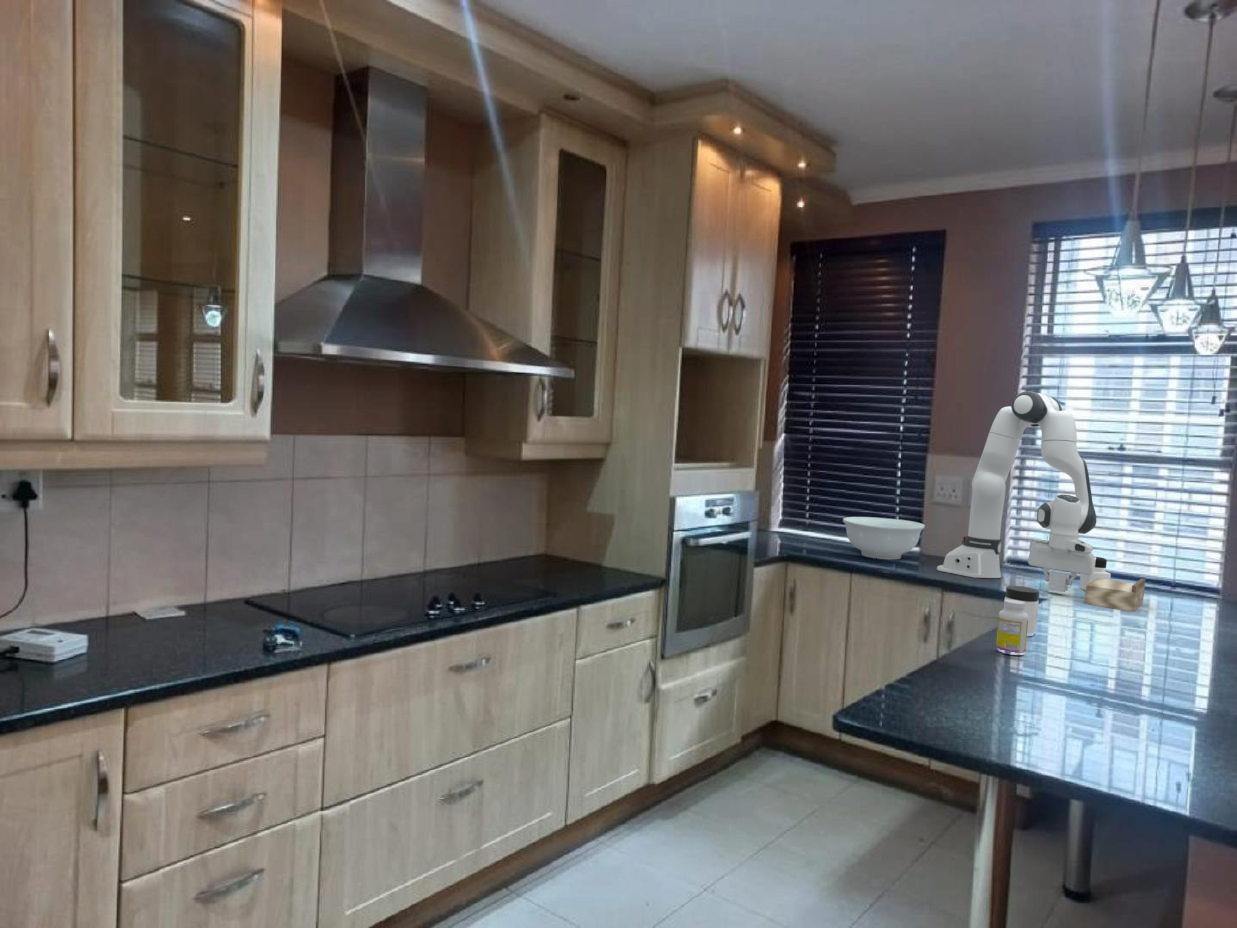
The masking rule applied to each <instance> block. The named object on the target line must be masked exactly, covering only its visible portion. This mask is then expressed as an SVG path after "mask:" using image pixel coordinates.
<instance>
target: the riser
mask: <svg viewBox="0 0 1237 928" xmlns="http://www.w3.org/2000/svg"><path fill="white" fill-rule="evenodd" d="M1145 586H1146V578H1140V579H1139V580H1137V582H1135V583H1132V582H1126V581H1119V580H1113V579H1110V580H1108V579H1101V578H1096V579H1095V580H1093V581H1092V582H1090V583H1089V584H1087V585H1086V591H1085V590H1084V592H1085V593H1084V602H1083V603H1084V604H1085V603H1088V604H1087V605H1093V606H1097V607H1104V608H1110V609H1116V610H1121V611H1127V612H1133V613H1134V612H1135V611H1136V610H1138V608H1139V607H1140V606H1142V604H1144V595H1145Z"/></svg>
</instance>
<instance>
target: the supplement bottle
mask: <svg viewBox="0 0 1237 928" xmlns="http://www.w3.org/2000/svg"><path fill="white" fill-rule="evenodd" d="M1004 606H1005V608H1004ZM1024 608H1025V602H1022V601H1018V600H1009V599H1007V600H1004V601H1003V609H1001V610H1000V611H999V613H998V618H997V629H996V630H997V633H996V640H995V641H996V643H995V644H996V645H995V648H996V647H997V648H999V649H1000V650H1005V651H1008V652H1015V653H1024V652H1025V653H1027V638H1028V636H1027V629H1028V615H1027V614H1026V613H1025V612H1024Z"/></svg>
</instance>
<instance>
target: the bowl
mask: <svg viewBox="0 0 1237 928" xmlns="http://www.w3.org/2000/svg"><path fill="white" fill-rule="evenodd" d="M842 522H843V523H844V525H845V529H846V536H847V539H848V540H849V542H850V544H851V545H852V546H854V547H855V548H857V549H858V550H860V551H861V555H862V556H863V557H866V558H871V559H876V558H877V560H892V561H893V560H900V559H901V558H902V555H903V554H905V553H908V552H910V551H912V550H913V549H914V548H915V547H916V545H918V542H919V540H920V535H921V532H922V530H924V529H925V527H926V526H925V524H923V523H920V522H917V521H912V520H905V519H898V518H886V517H874V516H873V517H872V516H849V517H844V518H842Z"/></svg>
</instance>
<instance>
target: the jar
mask: <svg viewBox="0 0 1237 928" xmlns="http://www.w3.org/2000/svg"><path fill="white" fill-rule="evenodd" d="M1039 598H1040V591H1039V590H1038V589H1036V588H1032V587H1026V586H1019V585H1007V586H1006V588H1005V597H1004V598H1003V599H1004V600H1007V599H1009V600H1018V601H1022V602H1025V608H1024V612H1025V613H1026V614H1027V615H1028V629H1027V633H1034V632H1035V631H1036V632H1037V624H1038V615H1039V613H1038V612H1039V603H1040V602H1039V600H1040V599H1039ZM1004 608H1005V606H1004V605H1003V609H1004Z"/></svg>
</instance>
